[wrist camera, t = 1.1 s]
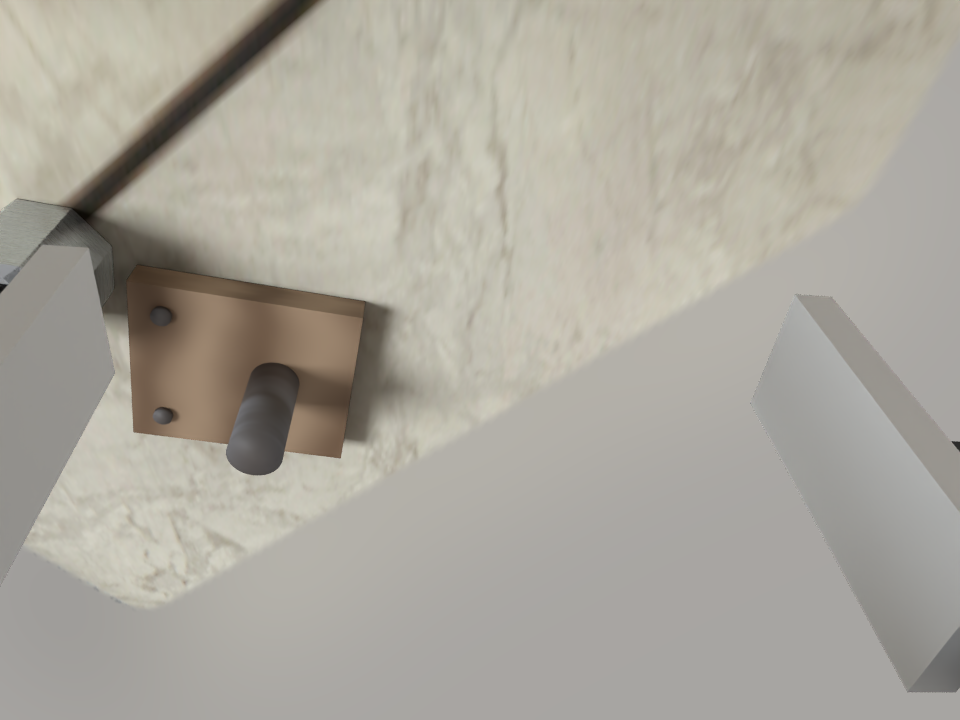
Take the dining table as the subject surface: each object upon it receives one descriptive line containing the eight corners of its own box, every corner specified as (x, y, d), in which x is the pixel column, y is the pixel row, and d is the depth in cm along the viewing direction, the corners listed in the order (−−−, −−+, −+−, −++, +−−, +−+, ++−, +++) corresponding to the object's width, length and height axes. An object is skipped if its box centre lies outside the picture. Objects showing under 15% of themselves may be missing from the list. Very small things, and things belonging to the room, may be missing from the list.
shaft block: (142, 413, 53) (97, 508, 46) (136, 264, 47) (82, 348, 39) (343, 439, 56) (330, 534, 49) (365, 301, 49) (353, 387, 42)
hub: (-6, 298, 48) (-65, 364, 42) (-24, 191, 44) (-92, 249, 38) (116, 316, 49) (74, 383, 43) (110, 214, 45) (63, 273, 39)
